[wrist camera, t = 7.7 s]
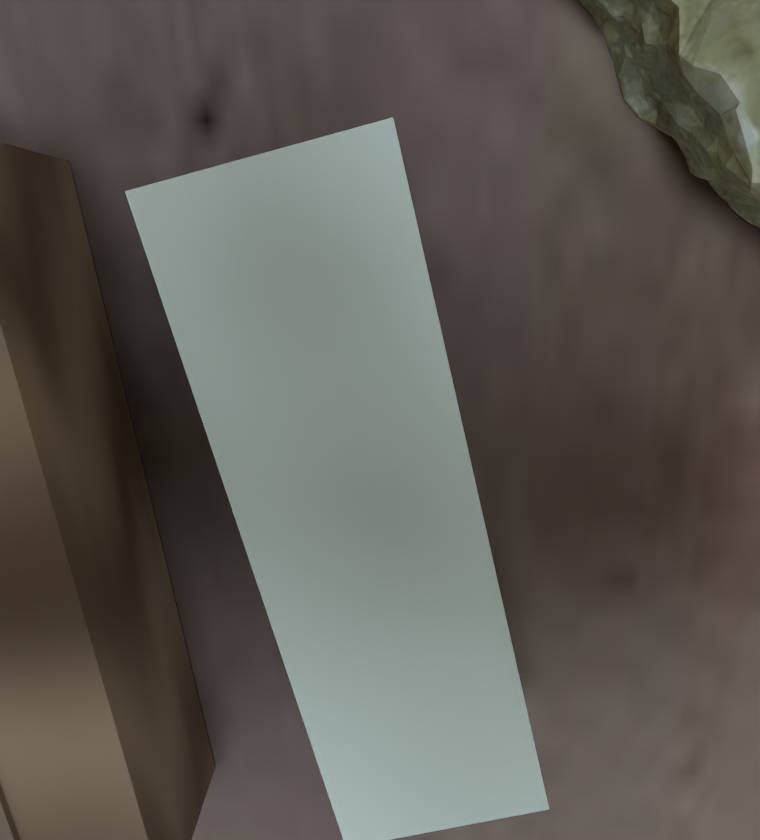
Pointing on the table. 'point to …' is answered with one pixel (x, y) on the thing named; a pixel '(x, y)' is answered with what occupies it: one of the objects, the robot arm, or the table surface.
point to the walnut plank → (80, 555)
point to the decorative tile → (694, 83)
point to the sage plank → (349, 474)
